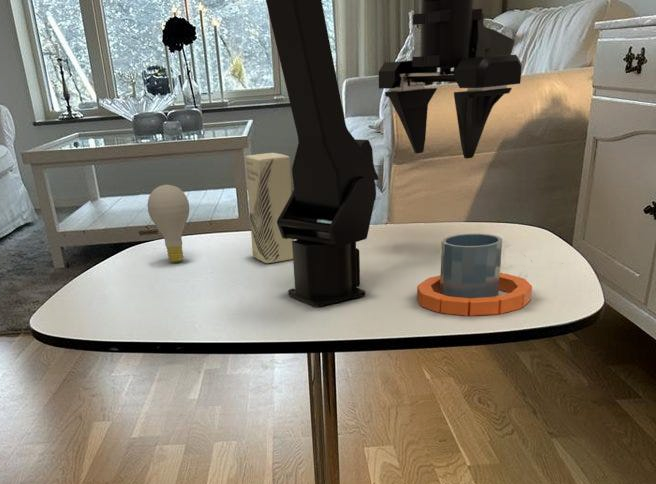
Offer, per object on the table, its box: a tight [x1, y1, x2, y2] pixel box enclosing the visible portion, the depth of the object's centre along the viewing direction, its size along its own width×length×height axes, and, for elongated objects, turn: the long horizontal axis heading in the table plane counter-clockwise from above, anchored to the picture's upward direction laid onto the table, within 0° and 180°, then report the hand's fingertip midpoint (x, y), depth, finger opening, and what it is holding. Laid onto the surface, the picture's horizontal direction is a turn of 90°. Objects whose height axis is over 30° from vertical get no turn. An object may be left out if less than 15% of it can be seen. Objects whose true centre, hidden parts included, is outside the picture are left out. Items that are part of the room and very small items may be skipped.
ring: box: [416, 272, 533, 317], centre depth 78 cm, size 11×11×1 cm
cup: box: [439, 233, 503, 298], centre depth 78 cm, size 6×6×6 cm
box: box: [244, 152, 295, 264], centre depth 97 cm, size 5×4×13 cm
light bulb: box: [146, 184, 190, 264], centre depth 100 cm, size 6×5×10 cm
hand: (442, 155), depth 89 cm, fingers open, 9 cm apart
